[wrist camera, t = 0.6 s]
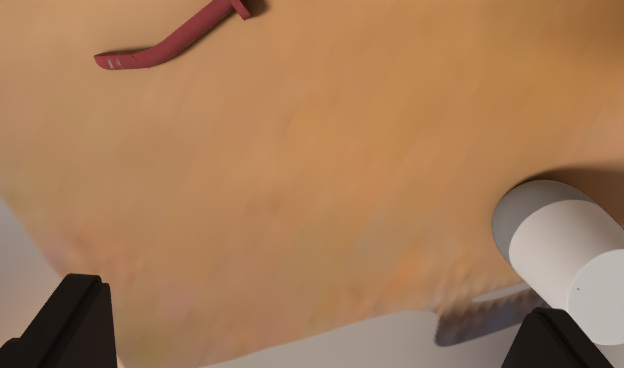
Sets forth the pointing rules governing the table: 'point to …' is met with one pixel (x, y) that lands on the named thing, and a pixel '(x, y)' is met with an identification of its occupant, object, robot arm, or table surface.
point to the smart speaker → (566, 253)
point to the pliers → (174, 38)
